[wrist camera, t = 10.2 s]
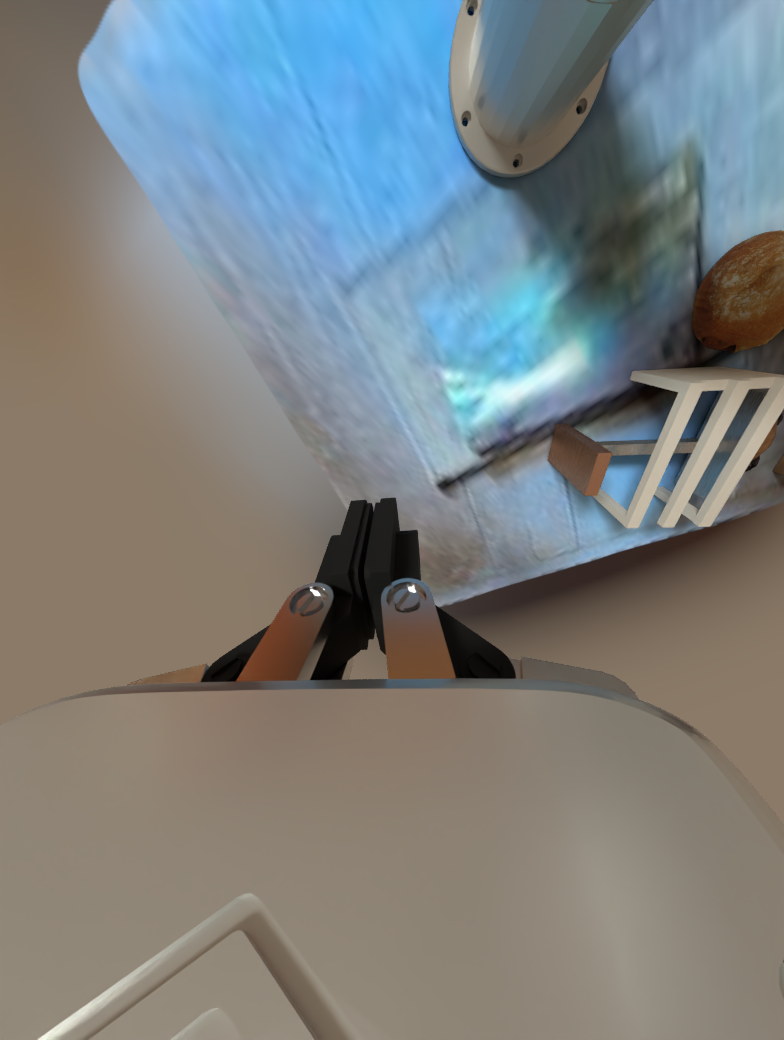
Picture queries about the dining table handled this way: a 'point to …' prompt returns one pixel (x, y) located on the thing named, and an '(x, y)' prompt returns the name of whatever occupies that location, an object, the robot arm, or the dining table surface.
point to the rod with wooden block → (643, 450)
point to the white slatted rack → (700, 441)
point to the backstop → (780, 466)
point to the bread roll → (743, 296)
